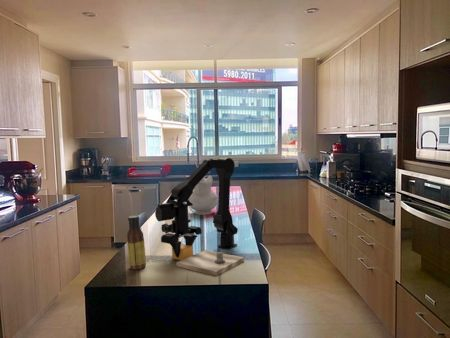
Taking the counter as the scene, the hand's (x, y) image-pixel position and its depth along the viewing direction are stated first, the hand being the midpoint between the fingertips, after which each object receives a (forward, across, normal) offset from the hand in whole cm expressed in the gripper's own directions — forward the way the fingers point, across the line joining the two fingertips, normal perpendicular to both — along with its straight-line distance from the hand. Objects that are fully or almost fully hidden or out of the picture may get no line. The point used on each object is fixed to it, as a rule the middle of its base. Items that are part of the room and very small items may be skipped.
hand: (182, 255), depth 151 cm
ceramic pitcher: (+1, -74, -49) cm, 89 cm away
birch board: (+1, 0, +14) cm, 15 cm away
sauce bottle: (+1, +18, -7) cm, 19 cm away
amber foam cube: (+1, 0, 0) cm, 1 cm away
